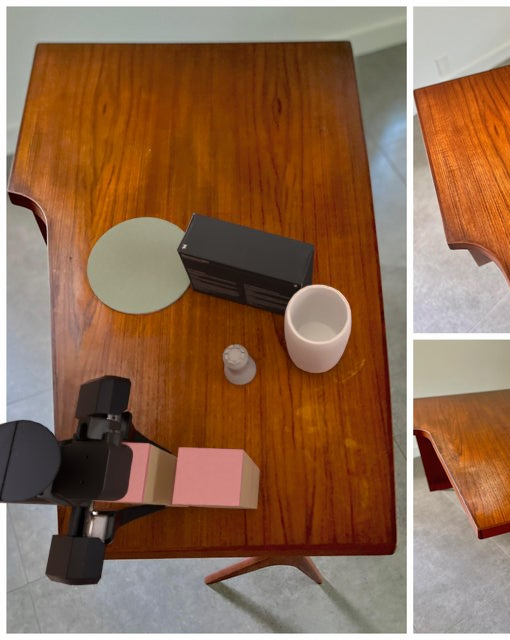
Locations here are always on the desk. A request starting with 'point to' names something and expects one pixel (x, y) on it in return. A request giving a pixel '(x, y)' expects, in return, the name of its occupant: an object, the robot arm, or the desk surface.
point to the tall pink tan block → (216, 478)
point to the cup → (317, 327)
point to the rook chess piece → (238, 365)
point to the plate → (138, 266)
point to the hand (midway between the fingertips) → (167, 480)
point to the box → (245, 263)
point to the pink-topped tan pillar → (150, 476)
